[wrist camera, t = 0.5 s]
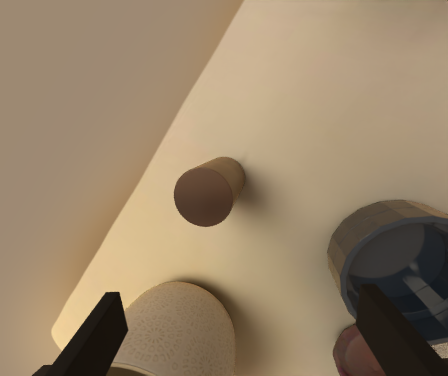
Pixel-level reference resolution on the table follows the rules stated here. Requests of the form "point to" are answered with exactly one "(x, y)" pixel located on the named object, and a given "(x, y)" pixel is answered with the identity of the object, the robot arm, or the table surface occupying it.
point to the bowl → (396, 261)
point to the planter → (176, 334)
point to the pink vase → (355, 355)
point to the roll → (209, 191)
